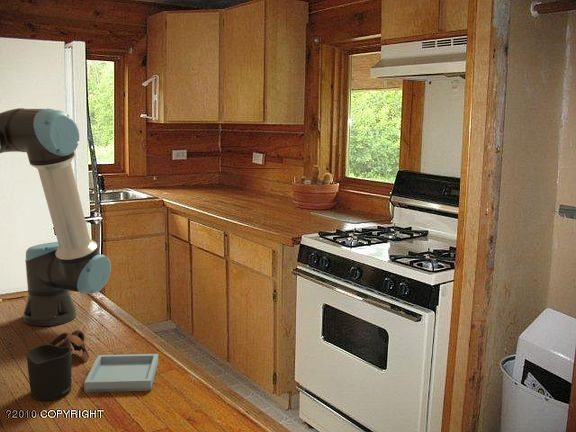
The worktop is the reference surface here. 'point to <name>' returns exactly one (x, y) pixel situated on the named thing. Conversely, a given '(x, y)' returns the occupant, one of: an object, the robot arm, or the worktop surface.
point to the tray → (122, 373)
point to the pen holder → (49, 372)
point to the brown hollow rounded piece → (72, 342)
